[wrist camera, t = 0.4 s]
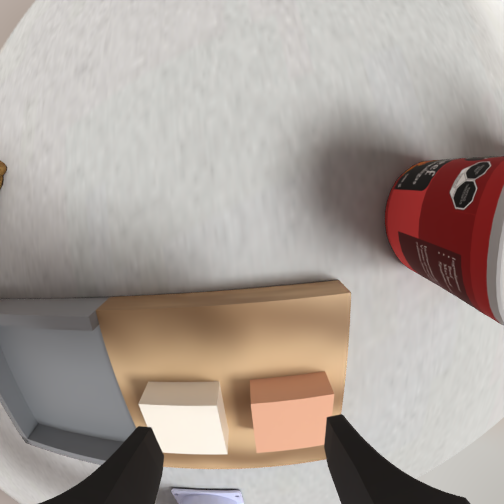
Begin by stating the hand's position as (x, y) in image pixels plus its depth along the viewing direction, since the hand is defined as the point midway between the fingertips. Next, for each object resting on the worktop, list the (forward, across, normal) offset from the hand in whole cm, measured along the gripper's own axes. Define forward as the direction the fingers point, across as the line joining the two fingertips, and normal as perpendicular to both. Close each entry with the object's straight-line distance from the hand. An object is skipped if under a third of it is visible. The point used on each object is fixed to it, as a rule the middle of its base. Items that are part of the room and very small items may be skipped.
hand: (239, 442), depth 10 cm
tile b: (+8, +4, +5) cm, 10 cm away
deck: (+10, +1, +5) cm, 11 cm away
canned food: (+10, -14, -7) cm, 19 cm away
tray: (+10, +17, +5) cm, 21 cm away
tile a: (+8, -3, +5) cm, 10 cm away
